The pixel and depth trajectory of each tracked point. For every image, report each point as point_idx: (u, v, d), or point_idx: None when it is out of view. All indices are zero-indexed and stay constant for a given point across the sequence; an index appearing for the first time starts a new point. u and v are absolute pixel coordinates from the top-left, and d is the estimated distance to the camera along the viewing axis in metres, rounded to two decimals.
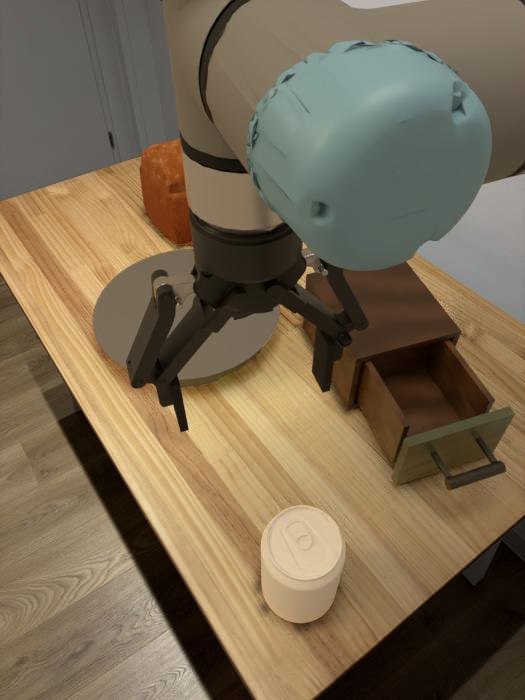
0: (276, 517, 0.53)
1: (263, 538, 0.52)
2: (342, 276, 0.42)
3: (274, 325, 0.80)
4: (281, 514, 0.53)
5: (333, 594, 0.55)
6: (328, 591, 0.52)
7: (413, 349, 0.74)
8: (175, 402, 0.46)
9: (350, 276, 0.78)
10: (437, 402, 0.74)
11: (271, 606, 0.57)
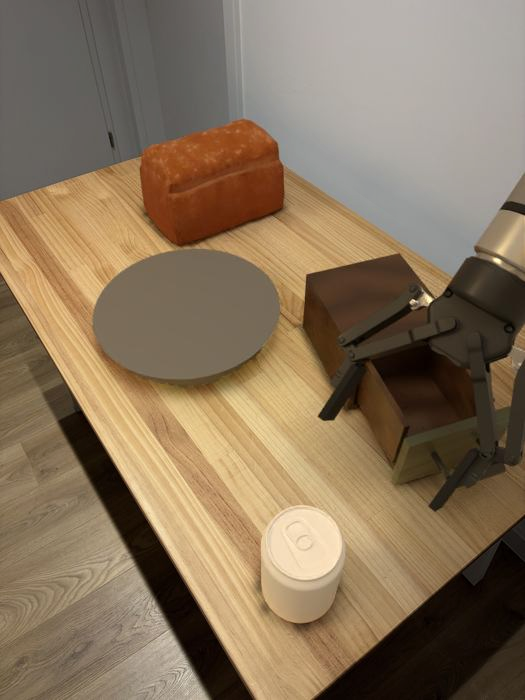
0: (276, 517, 0.53)
1: (263, 538, 0.52)
2: None
3: (274, 325, 0.80)
4: (281, 514, 0.53)
5: (333, 594, 0.55)
6: (328, 591, 0.52)
7: (413, 349, 0.74)
8: (341, 381, 0.56)
9: (350, 276, 0.78)
10: (437, 402, 0.74)
11: (271, 606, 0.57)
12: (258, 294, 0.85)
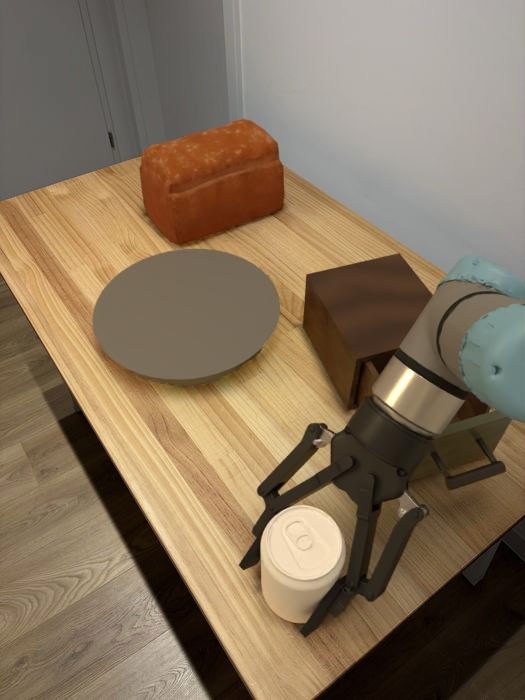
0: (276, 517, 0.53)
1: (263, 538, 0.52)
2: (404, 533, 0.49)
3: (274, 325, 0.80)
4: (281, 514, 0.53)
5: None
6: None
7: None
8: (260, 533, 0.56)
9: (350, 276, 0.78)
10: None
11: (271, 606, 0.57)
12: (258, 294, 0.85)
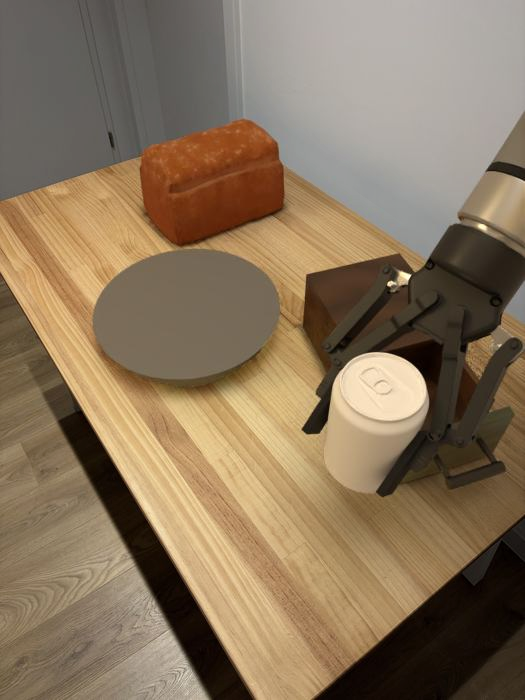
0: (349, 363, 0.47)
1: (335, 385, 0.47)
2: (501, 367, 0.43)
3: (274, 325, 0.80)
4: (354, 361, 0.48)
5: None
6: None
7: (413, 349, 0.74)
8: (327, 391, 0.51)
9: (350, 276, 0.78)
10: None
11: (338, 475, 0.52)
12: (258, 294, 0.85)
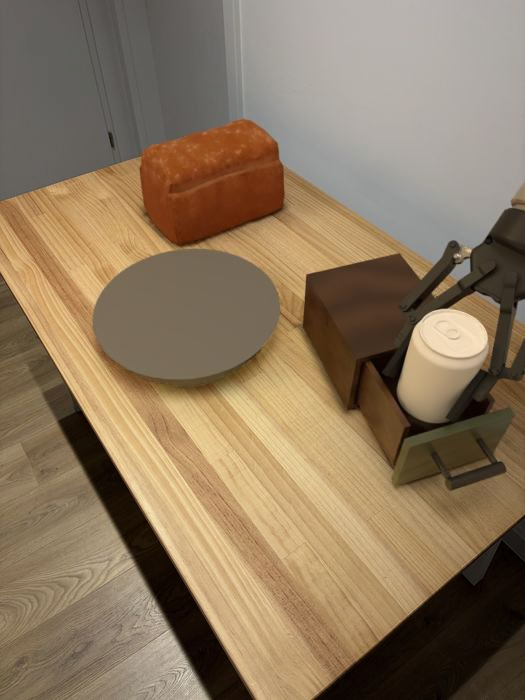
0: (425, 317, 0.61)
1: (415, 333, 0.60)
2: None
3: (274, 325, 0.80)
4: (428, 315, 0.61)
5: None
6: None
7: None
8: (403, 341, 0.64)
9: (350, 276, 0.78)
10: None
11: (411, 408, 0.65)
12: (258, 294, 0.85)
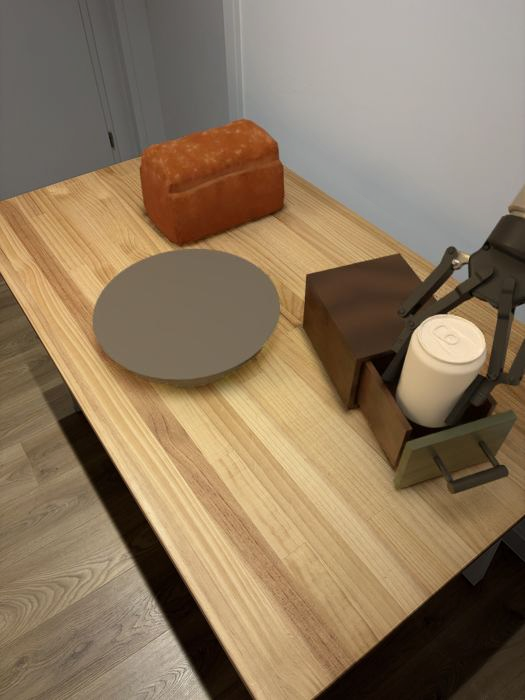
0: (423, 322, 0.61)
1: (413, 339, 0.61)
2: None
3: (274, 325, 0.80)
4: (427, 321, 0.62)
5: None
6: None
7: None
8: (402, 346, 0.65)
9: (350, 276, 0.78)
10: None
11: (410, 413, 0.65)
12: (258, 294, 0.85)
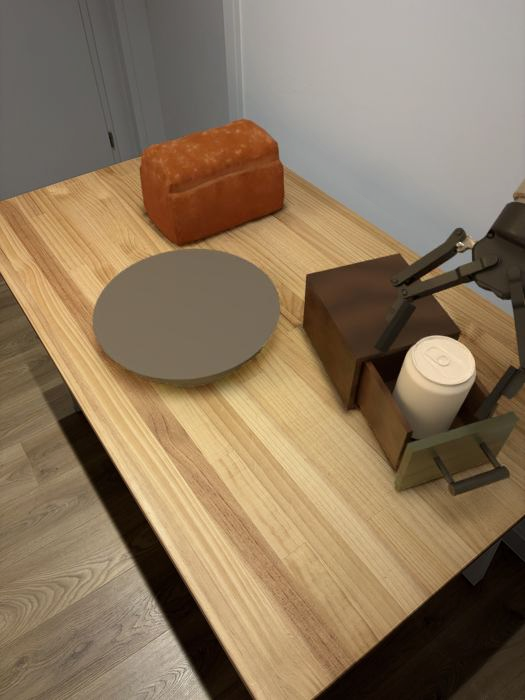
0: (416, 344, 0.64)
1: (407, 361, 0.64)
2: None
3: (274, 325, 0.80)
4: (419, 342, 0.65)
5: None
6: (462, 401, 0.64)
7: None
8: (395, 315, 0.64)
9: (350, 276, 0.78)
10: None
11: None
12: (258, 294, 0.85)
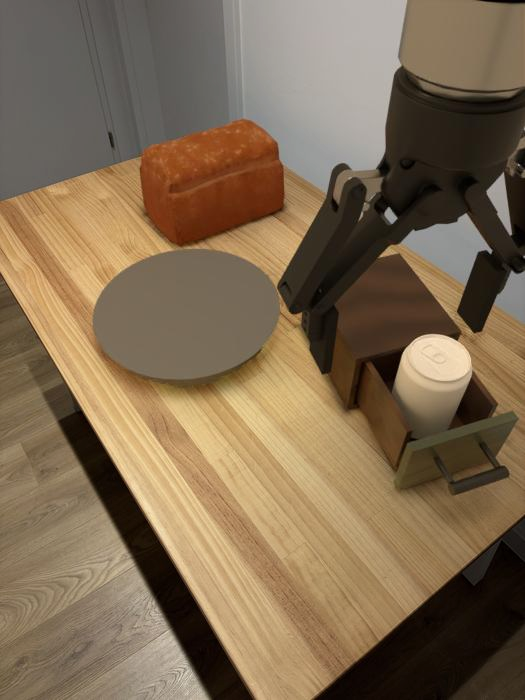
0: (412, 343, 0.65)
1: (404, 359, 0.64)
2: None
3: (274, 325, 0.80)
4: (415, 341, 0.65)
5: None
6: (459, 398, 0.64)
7: None
8: (327, 335, 0.40)
9: None
10: None
11: None
12: (258, 294, 0.85)
